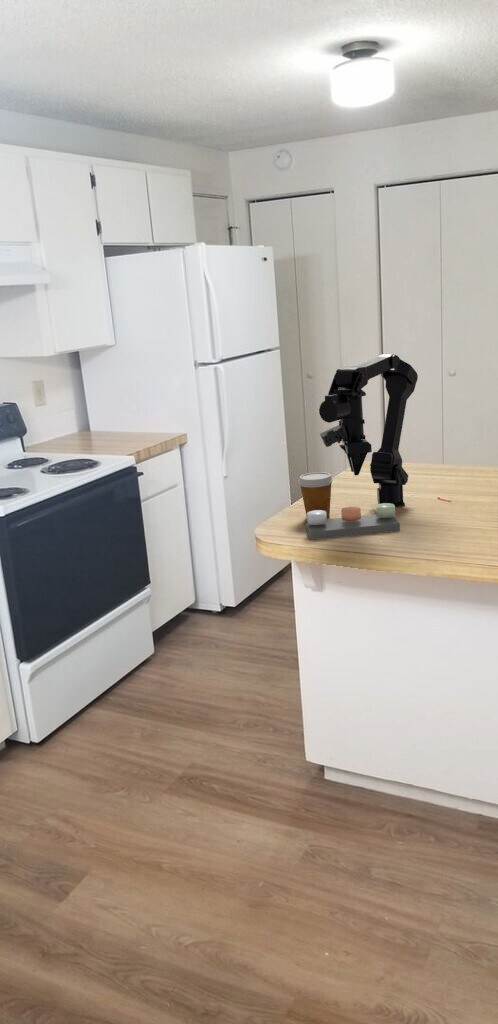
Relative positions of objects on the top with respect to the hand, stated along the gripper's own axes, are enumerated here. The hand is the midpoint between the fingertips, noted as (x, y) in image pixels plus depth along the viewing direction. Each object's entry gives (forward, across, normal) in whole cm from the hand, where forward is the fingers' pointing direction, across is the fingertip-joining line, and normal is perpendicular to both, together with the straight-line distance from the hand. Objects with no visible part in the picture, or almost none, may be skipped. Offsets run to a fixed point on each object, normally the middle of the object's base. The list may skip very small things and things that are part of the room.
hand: (355, 473), depth 221 cm
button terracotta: (+10, +8, -3) cm, 13 cm away
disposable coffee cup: (+13, -6, -10) cm, 18 cm away
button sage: (+10, +8, +6) cm, 14 cm away
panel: (+13, +8, -3) cm, 16 cm away
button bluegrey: (+10, +8, -12) cm, 18 cm away
